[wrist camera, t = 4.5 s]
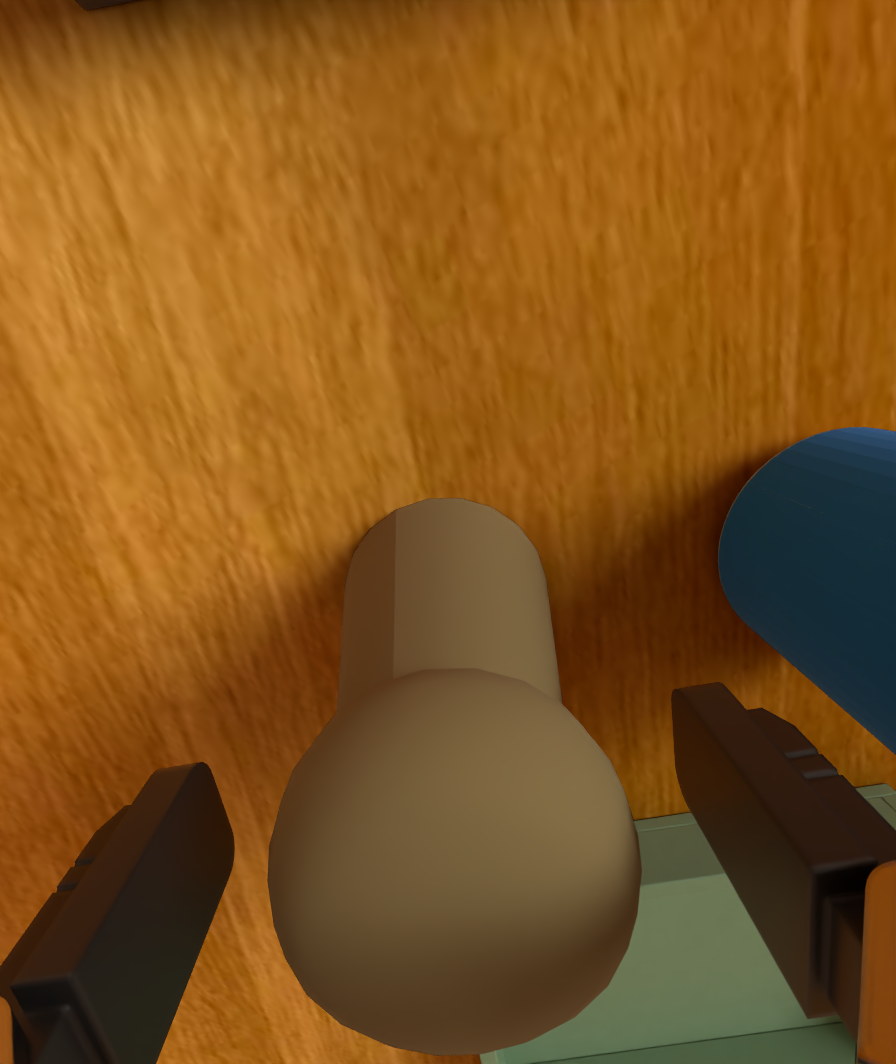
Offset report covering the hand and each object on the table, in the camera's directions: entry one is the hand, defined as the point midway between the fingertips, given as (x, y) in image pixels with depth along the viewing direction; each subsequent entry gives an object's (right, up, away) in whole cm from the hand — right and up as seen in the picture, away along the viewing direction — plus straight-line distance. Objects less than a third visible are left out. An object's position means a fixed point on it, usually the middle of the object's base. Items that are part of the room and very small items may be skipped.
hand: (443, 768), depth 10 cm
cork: (0, +2, +8) cm, 8 cm away
